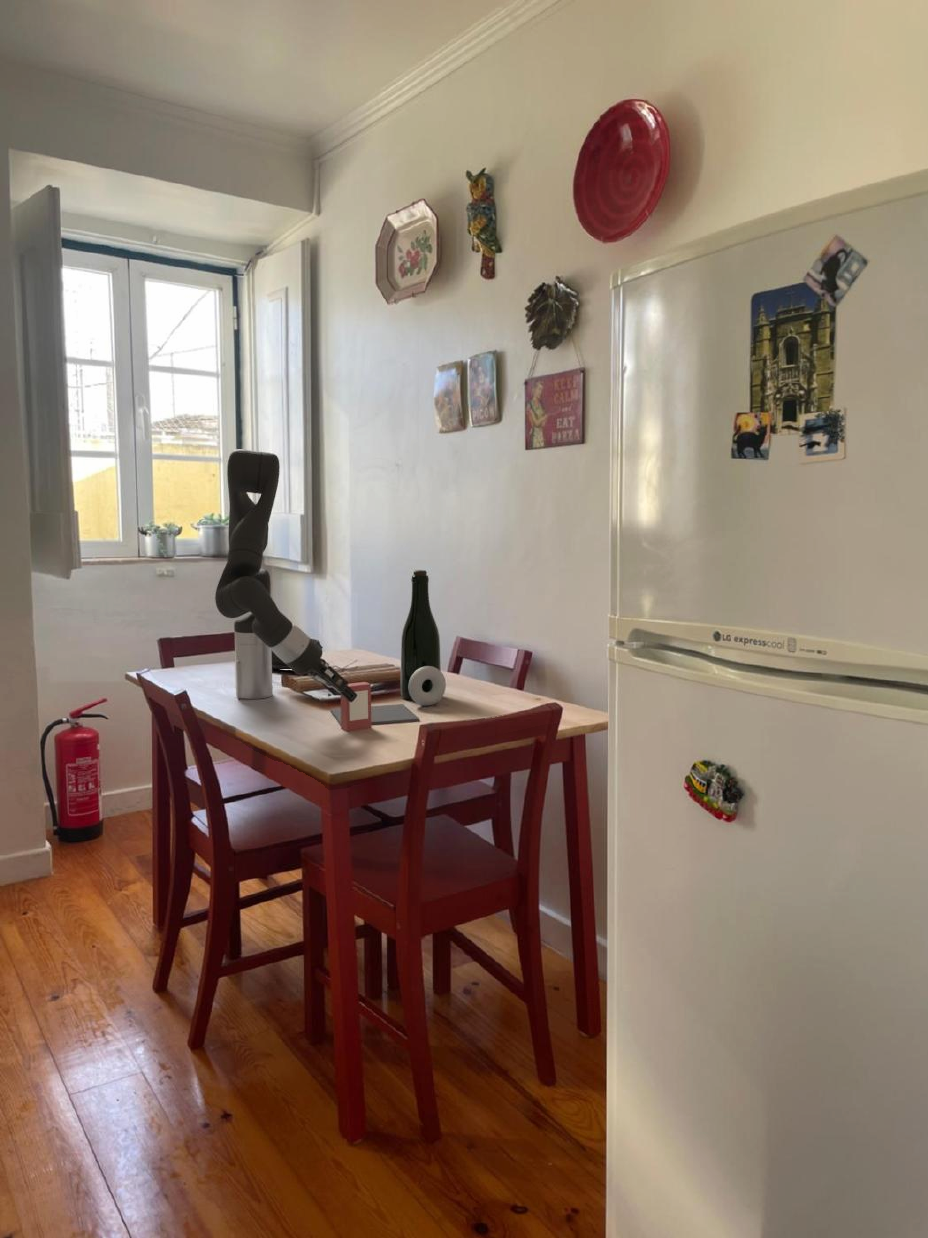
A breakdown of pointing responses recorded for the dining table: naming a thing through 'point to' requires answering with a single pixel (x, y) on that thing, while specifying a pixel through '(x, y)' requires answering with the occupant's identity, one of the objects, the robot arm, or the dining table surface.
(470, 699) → the dining table surface
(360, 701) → the card box
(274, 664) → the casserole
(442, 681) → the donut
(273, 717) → the dining table surface
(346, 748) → the dining table surface
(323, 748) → the dining table surface
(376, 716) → the mat
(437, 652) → the dark green wine bottle
